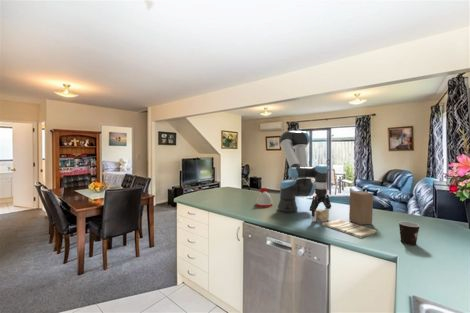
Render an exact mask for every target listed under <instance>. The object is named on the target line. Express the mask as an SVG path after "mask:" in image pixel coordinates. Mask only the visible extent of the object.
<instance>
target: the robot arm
mask: <svg viewBox="0 0 470 313" xmlns="http://www.w3.org/2000/svg"><path fill="white" fill-rule="evenodd" d="M278 142H279V146H280V148H282V151H283V152H284V156H285V158H286V159H285V160H287V163H288V166H289V168H288V171H287V175H288V176H289V178H291V179H284V180H282V181H281V182H280V184H279V185H280V186H279V189H280V190H279V192H280V193H279V202H278V205H277V210H278V211H279V212H283V213H296V212H298V206H297V202H296V197H299V198H300V197H306V198H307V197H312V201H311V203H310V206H309V211H310V212H311V221H312V222H314V223H316V222H317V221H316V212H315V211H316V209H318V207H319V206H320V204H321V203H323V206H324V210H325V211H328V219H329V218H330V210H331V208H332V204H331V201H330V197H329V194H328V189H327V188H328V166H327V165H326V164H325V165H323V164H321V165H320V164H317V165H315V166H308V159H307V150H306V148H307V147H308V145H309V143H310V136H309V134H308V132H307V131H305V130H304V131H303V130H286V131H284V132H283V133H282V134H281V135H280V137H279V141H278ZM312 179H314V181H312ZM314 194H316V196H314Z"/></svg>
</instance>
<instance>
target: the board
mask: <svg viewBox="0 0 470 313" xmlns="http://www.w3.org/2000/svg"><path fill="white" fill-rule="evenodd" d="M321 223H322V222H321ZM321 225H322V226H323V225H324V226H323V227H326V226H327V228H329V227H330V228H329V229H332V228H333V230H335V229H336V231H338V230H339V232H341V231H342V232H341V233H344V234H347V233H348V235H350V234H351V235H350V236H353V235H354V237H356V236H357V237H356V238H359V237H360V239H363V238H365V237H368V236H371V235H373V234H376V233H377V230H376V229H373V228H369V227H367V226H363V225H359V224H357V223H354V222H349V221H346V220H343V219H338V218H335V219H331V220H328V222H324V223H322V224H321Z"/></svg>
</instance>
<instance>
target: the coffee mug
mask: <svg viewBox="0 0 470 313" xmlns="http://www.w3.org/2000/svg"><path fill="white" fill-rule="evenodd" d="M398 227H399V235H400V237H399V238H400V242H401V243H402V244H403V243H404V245H406V244H407V246H413V247H414V246H416V245H417V243H418V242H417V240H418V236H419V232H420V231H419V230H420V225H419V223H415V222H412V221H404V220H403V221H399V222H398Z"/></svg>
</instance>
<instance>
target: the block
mask: <svg viewBox="0 0 470 313" xmlns="http://www.w3.org/2000/svg"><path fill="white" fill-rule="evenodd" d="M373 205H374V194H373V193H372V192H367V191H363V190H356V191H350V193H349V215H348V216H349V218H348V219H349V220H348V221H350V222H351V223H353V224H356V225H360V226H363V225H364V226H365V225H371V224H372V223H373V211H374V210H373V207H374V206H373Z"/></svg>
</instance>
